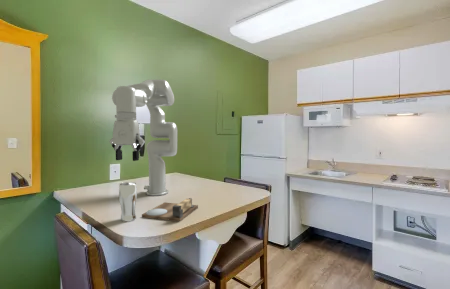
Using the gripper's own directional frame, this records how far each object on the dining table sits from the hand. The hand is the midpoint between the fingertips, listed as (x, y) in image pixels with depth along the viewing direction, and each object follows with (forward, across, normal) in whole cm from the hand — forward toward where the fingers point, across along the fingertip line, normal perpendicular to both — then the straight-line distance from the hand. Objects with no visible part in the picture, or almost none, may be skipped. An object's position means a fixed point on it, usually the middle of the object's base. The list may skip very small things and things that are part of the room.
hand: (127, 160), depth 101 cm
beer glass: (+25, 0, 0) cm, 25 cm away
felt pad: (+24, +9, +8) cm, 26 cm away
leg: (+23, +20, +11) cm, 32 cm away
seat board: (+25, +13, +13) cm, 31 cm away
